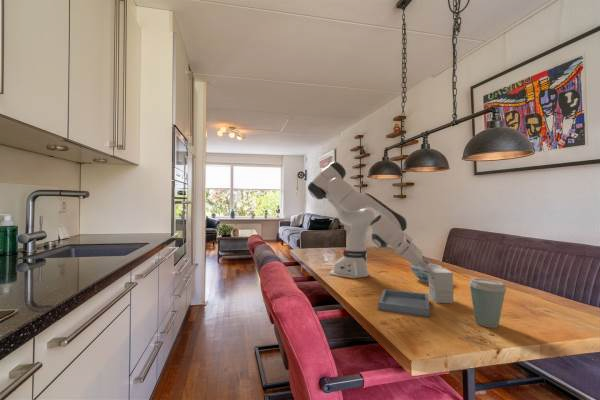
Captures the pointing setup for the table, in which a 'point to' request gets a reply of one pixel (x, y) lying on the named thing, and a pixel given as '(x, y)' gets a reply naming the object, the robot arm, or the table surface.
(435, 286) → the supplement box
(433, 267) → the chinaware
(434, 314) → the table surface
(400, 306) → the tray
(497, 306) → the disposable coffee cup
